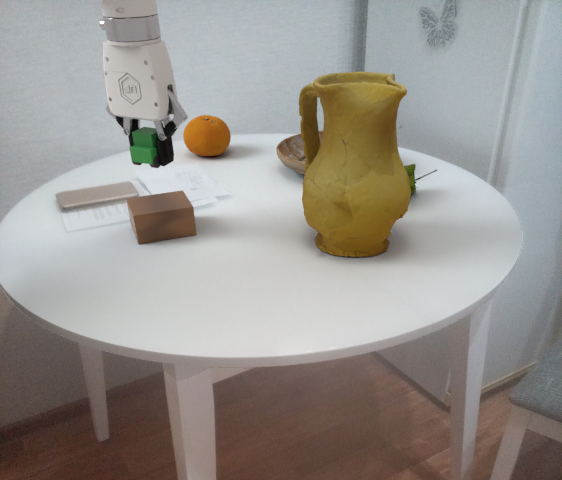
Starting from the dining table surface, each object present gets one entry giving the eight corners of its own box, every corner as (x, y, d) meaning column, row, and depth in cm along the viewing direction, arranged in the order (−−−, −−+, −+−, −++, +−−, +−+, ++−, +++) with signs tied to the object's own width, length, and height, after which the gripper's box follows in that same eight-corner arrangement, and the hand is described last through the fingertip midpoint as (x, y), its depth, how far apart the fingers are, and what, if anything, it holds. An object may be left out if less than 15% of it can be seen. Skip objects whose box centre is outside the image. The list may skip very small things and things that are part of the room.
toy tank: (361, 174, 103) (407, 176, 96) (416, 150, 113) (462, 150, 107) (364, 213, 106) (409, 216, 100) (418, 186, 117) (462, 188, 110)
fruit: (209, 164, 124) (206, 126, 119) (176, 155, 129) (172, 118, 124) (240, 152, 130) (238, 115, 125) (208, 144, 135) (205, 108, 130)
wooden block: (138, 244, 94) (133, 216, 90) (131, 225, 99) (125, 198, 96) (196, 234, 96) (193, 206, 93) (186, 217, 102) (182, 190, 99)
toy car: (154, 170, 88) (149, 136, 84) (131, 166, 89) (125, 133, 86) (175, 158, 92) (171, 126, 89) (153, 155, 93) (148, 123, 90)
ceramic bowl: (302, 146, 133) (302, 124, 130) (398, 159, 125) (401, 136, 122) (258, 179, 117) (257, 154, 113) (366, 196, 109) (368, 170, 106)
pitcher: (319, 270, 85) (328, 88, 70) (286, 227, 100) (288, 68, 85) (421, 258, 89) (450, 83, 74) (375, 218, 103) (391, 64, 89)
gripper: (68, 31, 79) (97, 162, 91) (168, 37, 73) (185, 176, 85) (101, 23, 84) (125, 148, 96) (198, 29, 79) (210, 160, 90)
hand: (153, 160), depth 90 cm, fingers closed on toy car, 4 cm apart
